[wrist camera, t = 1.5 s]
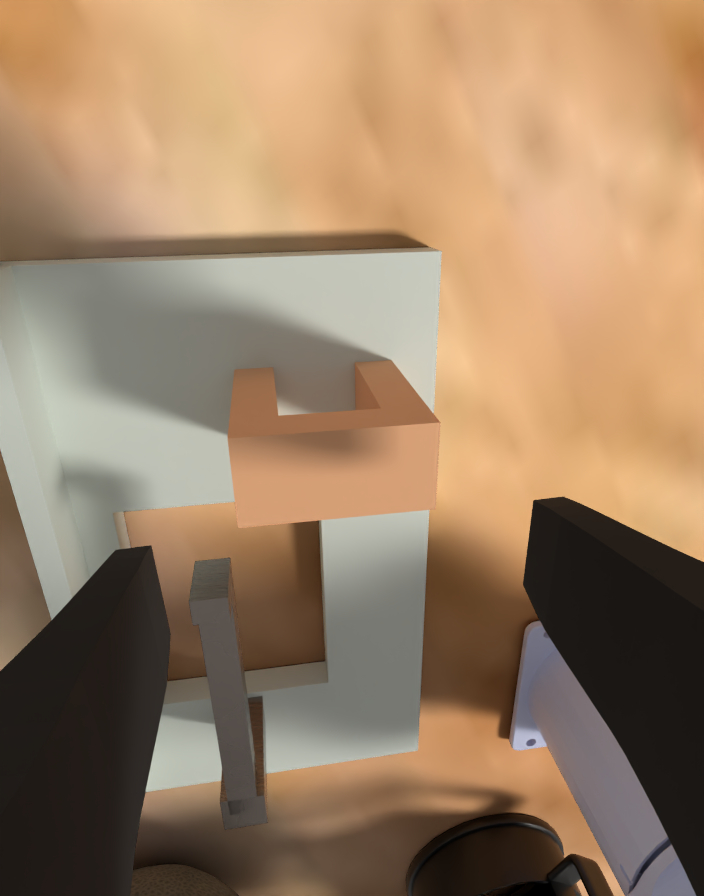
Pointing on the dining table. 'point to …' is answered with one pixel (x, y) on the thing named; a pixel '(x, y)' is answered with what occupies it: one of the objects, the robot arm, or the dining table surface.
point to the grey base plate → (222, 458)
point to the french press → (502, 861)
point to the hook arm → (230, 696)
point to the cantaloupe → (176, 882)
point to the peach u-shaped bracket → (332, 451)
